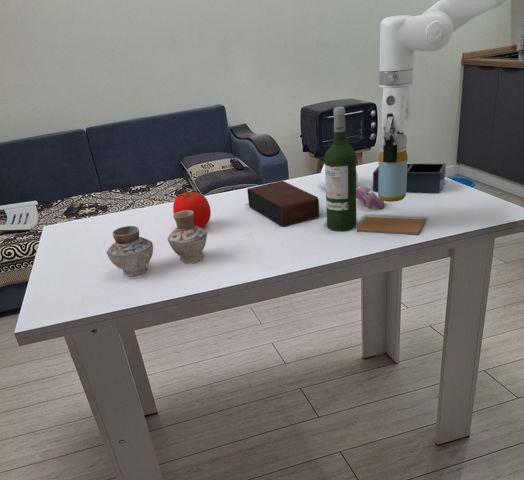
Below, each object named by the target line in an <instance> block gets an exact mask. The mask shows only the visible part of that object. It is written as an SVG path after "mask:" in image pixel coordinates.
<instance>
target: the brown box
mask: <svg viewBox="0 0 524 480" xmlns="http://www.w3.org/2000/svg"><path fill="white" fill-rule="evenodd" d="M246 191H247V201H248V207H249V208H251V209H252V210H254V211H255V212H257V213H259V214H260V215H262V216H263V217H265V218H267V219H268V220H270V221H272V222H273V223H274V224H276V225H278V226H279V227H281V228H283V227H286V226H289V225H293V224H294V225H295V224H297V223H302V222H305V221H309V220H314V219H317V218H320V199H319V197H318V196H317V195H314V194H312V193H309V192H308V191H306V190H304V189H301V188H300V187H297V186H295V185H293V184H290V183H288V182H286V181H284V180H279V181H274V182H271V183H266V184H261V185H257V186H252V187H249V188H247V190H246Z"/></svg>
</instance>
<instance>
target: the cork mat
mask: <svg viewBox="0 0 524 480" xmlns="http://www.w3.org/2000/svg"><path fill="white" fill-rule="evenodd" d="M425 223H426V219H425V218H408V217H386V216H385V217H384V216H368V215H367V216H365V217H364V219H363V221H361V222H360V225H359V226H358V227H357V229H356V232H360V233H375V234H376V233H377V234H394V235H410V236H413V235H414V236H419V235H420V233H421V231H422V229H423V227H424V225H425Z"/></svg>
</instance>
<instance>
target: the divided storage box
mask: <svg viewBox="0 0 524 480" xmlns="http://www.w3.org/2000/svg"><path fill="white" fill-rule="evenodd" d="M446 167H447V163H407V184H406V194H408V193H410V194H440V192H441V191H442V189H443V187H444V184H445V179H446ZM378 171H379V165H378V166H377V167H376V168H375V169H374V171H373V172H372V192H373V193H375V192H376V193H378Z"/></svg>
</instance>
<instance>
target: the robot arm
mask: <svg viewBox="0 0 524 480" xmlns="http://www.w3.org/2000/svg"><path fill="white" fill-rule="evenodd" d="M509 1H510V0H438V1H437V2H436V3H434V4H433V5H431V6H430V7H429V8H427V9H426V10H425V11H424V12H423V13H422V14H418V15H411V14H400V15H391V16H387V17H385V18H383V19H382V20H381V22H380V25H379V67H378V69H379V70H378V73H379V74H378V75H379V76H378V88H381V89H382V97H381V98H382V101H381V102H382V103H381V132H382V133H383V136H384V145H383V162H391V163H395V162H396V161H397V145H396V140H397V134H403V135H405V132H404V131H405V130H406V129H407V128H408V127H409V126H410V113H411V111H410V107H411V106H410V105H411V100H410V99H411V98H410V97H411V95H410V94H411V93H410V86H412V85H413V81H414V59H415V57H414V56H415V51H416V52H437V51H439V50H441V49H443V48H444V47H446V46H447V45H448V43H450V40H451V39H452V37H453V33H455V32H456V31H457V30H459V29H461V28H462V27H463V26H464V25H466V24H467V23H469V22H470V21H472V20H473V19H475V18H477V17H479V16H480V15H483V14H484V13H487V12H489V11H492V10H494V9H496V8H500V6H503V5H504V4H506V3H508V2H509ZM392 135H394V138H393V136H392Z"/></svg>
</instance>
